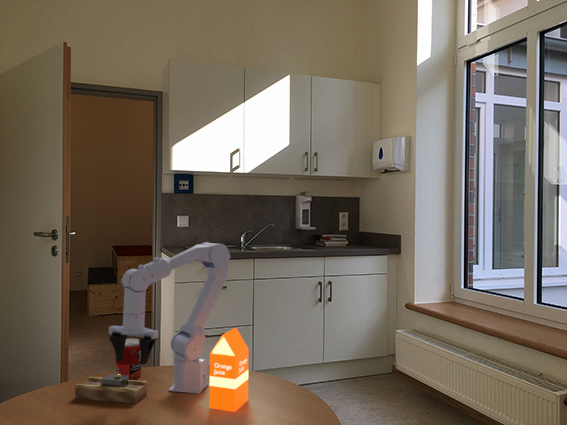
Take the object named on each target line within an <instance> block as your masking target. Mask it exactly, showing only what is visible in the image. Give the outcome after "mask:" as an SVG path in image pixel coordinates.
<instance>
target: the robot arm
mask: <svg viewBox="0 0 567 425" xmlns="http://www.w3.org/2000/svg"><path fill="white" fill-rule="evenodd" d="M230 259H231V254H230V251H229V249H228V247H227V246H226V245H225V244H223V243H212V242H209V241H205V242H202V243H200V244H199V243H198V244H195V245H194V246H192V247H190V248H187V249H186V250H184V251H181V252H179V253H178V254H175V255H174V256H172V257H170V258H164V257H157V256H156V257H154V258H153V260H152V261H150V262H148V263H146V264H139V265H138V266H137V267H138V268H137V269H136V268H130V269H127V270H126V271H125V272H124V273H123V275H122V278H121V279H120V282H121V284H122V286H123V287H124V292H123V293H124V294H123V312H122V313H123V316H122V317H123V318H122V325H111V326H109V327H108V334H110V336H109V337H108V338H109V341H110V343H111V345H112V347H113V349H114V353H115V359H116V358H117V361H121V360H123V359H124V350H125V342H126V339H128V336H129V337H140V338H141V339H139V343H140V349H141V366H144V365H146V364H148V360H149V358H150V354H151V352H152V349H153V347H154V345H155V343H156V341H157V339H158V338H159V330H155V329H151V328H148V327H145V317H146V316H145V315H146V290H147V289H148V288H149V286H150V285H152V284H154V283H156V282H158V281H161V280H163V279H165V278H167V277H170V275H171V273H172V272H173V270H175V269H178V268H180V267H182V266H185V265H188V264H190V263H193V262H195V261H200V263H201V264H202V265H203V266H204V268H205V270H206V272H207V275H208V276H207V279H206V280H205V283H204V284H203V287H202V289H201V291H200V293H199V296H198V298H197V300H196V302H195V305H194V306H193V308H192V311H191V314H190V315H189V318H188V320H187V322H185V324H183V325H182V326H181V327H180V328H179V330H178V332H176V334H174V335H173V336H172V339H171V341H170V348H171V350H172V351H173V352H174V359H173V360H174V363H173V364H174V365H173V369H174V371H173V377H174V378H173V380H174V381H173V385H172V386H171V387H169V389H168V391H169V392H178V393H188V394H189V393H190V394H201V392H202V391H203V390H204V389H205V388H206V387H207V386H208V385H209V383H208V378H209V377H208V370H209V367H208V360H207V359H205V358H202V357H201V356H202V354H203V351H204V344H205V340H206V333H205V330H204V329H205V328H206V325H207V323H208V320H209V319H210V316H211V314H212V312H213V309H214V307H215V306H216V302H217V301H218V298H219V296H220V294H221V292H222V290H223V288H224V285H225V283H226V280H227V278H228V274H229V262H230Z"/></svg>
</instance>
